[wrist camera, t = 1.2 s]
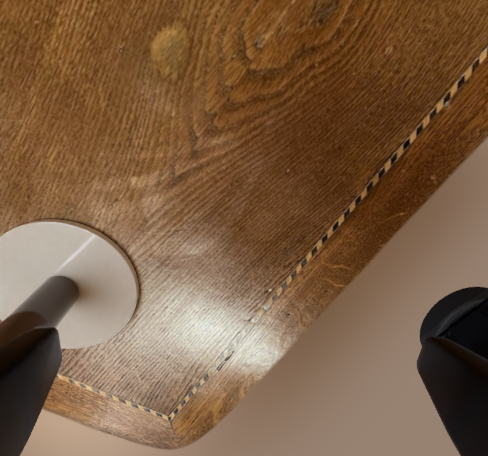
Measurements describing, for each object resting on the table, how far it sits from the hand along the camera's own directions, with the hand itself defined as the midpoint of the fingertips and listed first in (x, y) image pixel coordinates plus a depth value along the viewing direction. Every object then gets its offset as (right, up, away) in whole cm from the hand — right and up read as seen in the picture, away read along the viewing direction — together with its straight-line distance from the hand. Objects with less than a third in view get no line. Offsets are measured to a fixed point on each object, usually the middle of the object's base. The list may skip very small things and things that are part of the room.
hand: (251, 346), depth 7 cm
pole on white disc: (-13, -1, +14) cm, 19 cm away
